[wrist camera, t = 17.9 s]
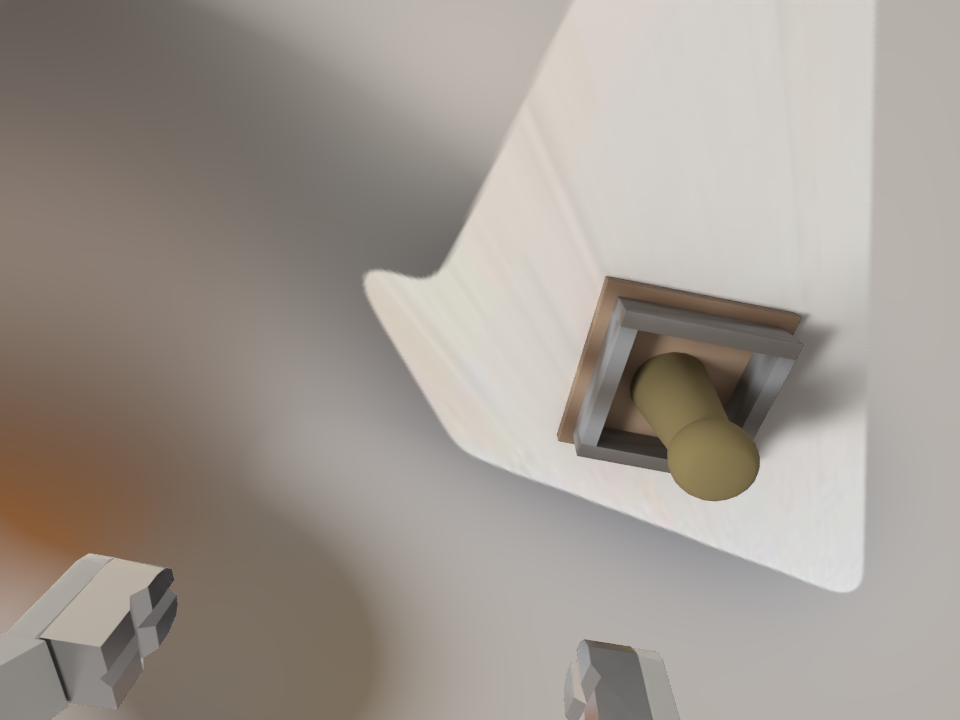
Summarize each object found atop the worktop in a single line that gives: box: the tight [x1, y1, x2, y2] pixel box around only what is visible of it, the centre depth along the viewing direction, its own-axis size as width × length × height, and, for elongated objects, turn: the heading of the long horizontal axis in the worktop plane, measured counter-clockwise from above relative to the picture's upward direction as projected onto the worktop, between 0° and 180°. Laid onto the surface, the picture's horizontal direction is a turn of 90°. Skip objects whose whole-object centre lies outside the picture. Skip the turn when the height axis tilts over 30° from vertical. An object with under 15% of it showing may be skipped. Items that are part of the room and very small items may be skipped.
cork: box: [630, 352, 760, 501], centre depth 34 cm, size 6×6×11 cm
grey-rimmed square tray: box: [557, 276, 804, 473], centre depth 38 cm, size 14×14×4 cm
